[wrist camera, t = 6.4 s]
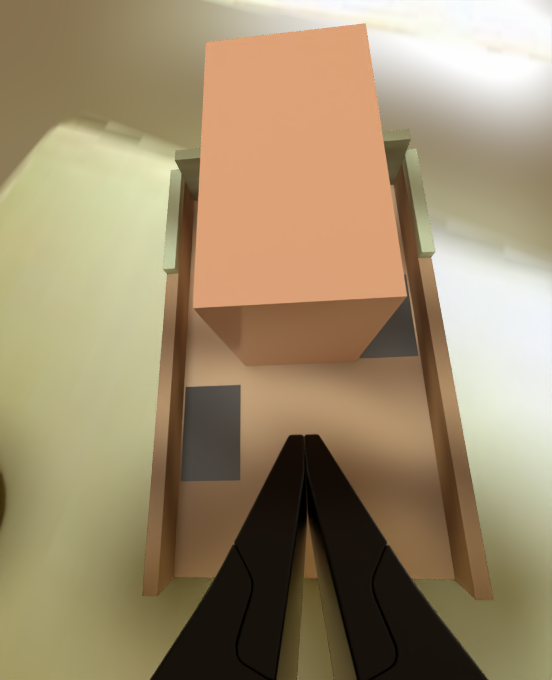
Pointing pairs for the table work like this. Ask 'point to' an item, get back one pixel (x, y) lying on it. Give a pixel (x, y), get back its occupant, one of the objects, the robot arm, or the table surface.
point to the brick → (295, 199)
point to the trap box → (312, 415)
